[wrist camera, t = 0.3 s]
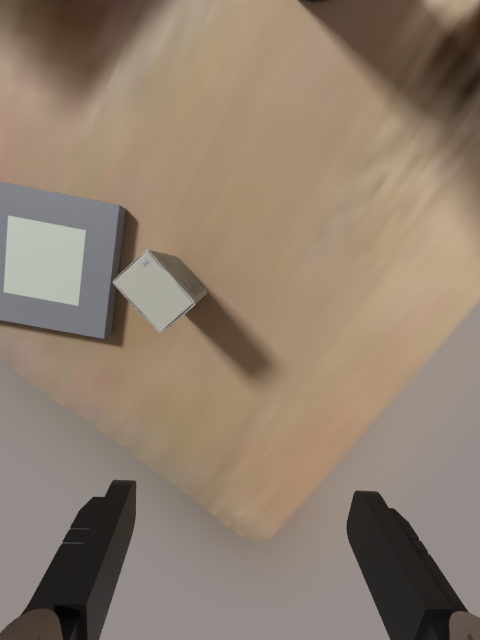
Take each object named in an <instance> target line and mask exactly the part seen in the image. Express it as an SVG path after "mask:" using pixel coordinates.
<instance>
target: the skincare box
mask: <svg viewBox="0 0 480 640" xmlns="http://www.w3.org/2000/svg"><path fill="white" fill-rule="evenodd" d="M113 284H114V285H115V286H116V287H117V289H118V290H119V291H120V292H121V293H122V294H123V296H124V297H125V298H126V299H127V300H128V301H129V302H130V303H131V304H132V305H133V306H134V307H135V308H136V310H137V311H138V312H139V313H140V314H141V315H142V316H143V317H144V318H145V319H146V320H147V321H148V322H149V323H150V324H151V325H152V326H153V327H154V328H155V329H156V330H157V331H158V332H159V333H162V332H163V331H164V330H166V329H167V328H168V327H170V326H171V325H172V324H173V323H175V322H176V321H177V320H178V319H180V318H181V317H182V316H183V315H184V314H185V313H187V312H188V311H189V310H190V309H191V308H192V307H194V306H195V305H196V304H197V303H198V302H199V301H200V300H201V299H202V298H203V297H204V296H205V295H207V293H208V292H207V290H206V289H205V288H204V287H203V286H202V284H201V283H200V282H199V281H198V280H197V279H196V277H195V276H194V275H193V274H192V273H191V272H190V271H189V270H188V268H187V267H186V266H185V265H184V264H183V263H182V262H181V261H180V260H179V259H178V258H177V257H176V256H172V255H168V254H164V253H159V252H155V251H151V250H146V251H145V252H144V253H142V254H141V255H140V256H139V257H138V258H137V259H136V260H134V261H133V262H132V263H131V264H130V265H129V266H128V267H127V268H126V269H125V270H124V271H122V272H121V273H120V274H119V275H118V276H117V277H116V278H115V279H114V280H113Z"/></svg>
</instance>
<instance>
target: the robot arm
mask: <svg viewBox="0 0 480 640" xmlns="http://www.w3.org/2000/svg"><path fill="white" fill-rule="evenodd" d="M317 1H318V0H317ZM135 516H136V481H128V480H113V481H112V483H111V485H110V487H109V489H108V491H107V493H106V495H105V497H93V498H92V499H91V500H90V501H89V502H88V503H87V504H86V505H85V506H84V507H82V508H81V509H80V511H79V512H78V514H77V516H76V518H75V520H74V522H73V523H72V525H71V527H70V530H69V531H68V533H67V534H66V536H65V538H64V540H63V543H62V545H60V547H59V549H58V551H57V553H56V555H55V556H54V558H53V560H52V562H51V564H50V566H49V568H48V569H47V571H46V573H45V575H44V577H43V578H42V580H41V582H40V584H39V586H38V588H37V589H36V592H35V593H34V595H33V597H32V599H31V600H30V603H29V604H28V605H27V607H26V609H25V610H24V611H23V613H22V614H21V615H20V616H19V617H18V618H16V619H15V620H13V621H12V622H11V623H10V624H9V625H7V626H6V628H4V629H3V630H2V632H1V633H0V640H99V638H100V635H101V632H102V628H103V625H104V622H105V619H106V616H107V613H108V609H109V606H110V603H111V600H112V597H113V594H114V591H115V587H116V584H117V581H118V578H119V575H120V572H121V568H122V565H123V562H124V559H125V556H126V553H127V550H128V546H129V543H130V540H131V537H132V533H133V529H134V524H135ZM347 535H348V539H349V543H350V545H351V547H352V549H353V552H354V555H355V557H356V559H357V562H358V564H359V566H360V569H361V571H362V573H363V576H364V578H365V581H366V583H367V585H368V588H369V590H370V592H371V595H372V597H373V599H374V602H375V604H376V607H377V609H378V611H379V614H380V616H381V618H382V621H383V623H384V626H385V628H386V630H387V633H388V635H389V637H390V640H480V618H479V617H477V616H475V615H473V614H470V613H469V612H468V611H467V609H466V608H465V606H464V605H463V603H462V602H461V601H460V599H459V597H458V596H457V594H456V593H455V591H454V590H453V588H452V587H451V585H450V584H449V583H448V581H447V579H446V578H445V576H444V575H443V573H442V572H441V570H440V569H439V567H438V566H437V564H436V563H435V562H434V560H433V559H432V557H431V555H429V554H428V551H427V549H426V548H425V546H424V545H423V544H422V542H421V541H419V537H418V536H417V534H416V533H415V531H414V530H413V529H412V527H411V525H410V524H409V522H408V521H407V520H405V519H404V518H403V517H402V516H401V515H400V514H399V513H398V512H397V511H396V510H395V509H393V508H388V506H387V504H386V503H385V501H384V500H383V498H382V497H381V495H380V494H379V493H378V492H376V491H356V492H355V493H354V496H353V500H352V503H351V508H350V512H349V516H348V520H347Z"/></svg>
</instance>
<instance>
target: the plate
mask: <svg viewBox="0 0 480 640" xmlns="http://www.w3.org/2000/svg"><path fill="white" fill-rule="evenodd" d="M125 215H126V209H125V208H123V207H122V206H120V205H116V204H111V203H106V202H101V201H96V200H91V199H85V198H80V197H75V196H70V195H65V194H60V193H55V192H50V191H44V190H39V189H34V188H29V187H24V186H19V185H14V184H9V183H3V182H0V320H2V321H8V322H13V323H19V324H25V325H30V326H36V327H41V328H47V329H52V330H58V331H63V332H69V333H74V334H80V335H86V336H91V337H97V338H102V339H105V338H107V337H109V336H111V332H112V323H113V315H114V307H115V298H116V290H117V287H116V286H115V285H114V284H113V280H114V279H115V278H116V277H117V276H118V273H119V265H120V257H121V248H122V240H123V232H124V223H125Z"/></svg>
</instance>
